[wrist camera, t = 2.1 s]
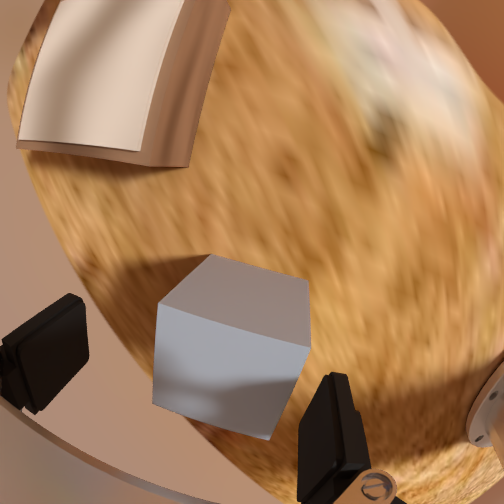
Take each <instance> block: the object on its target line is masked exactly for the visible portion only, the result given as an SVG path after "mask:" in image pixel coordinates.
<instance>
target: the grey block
mask: <svg viewBox="0 0 504 504" xmlns="http://www.w3.org/2000/svg"><path fill="white" fill-rule="evenodd" d="M310 349H311V330H310V303H309V282H308V280H304V279H300V278H297V277H293V276H289V275H286V274H282V273H278V272H275V271H271V270H267V269H264V268H260V267H256V266H253V265H249V264H245V263H242V262H238V261H234V260H231V259H227V258H224V257H220V256H216V255H213V254H211V255H209V256H208V257H207V258H206V259H205V260H204V261H203V262H202V263H201V264H200V265H199V266H197V267H196V268H195V269H194V270H193V271H192V272H191V273H190V274H189V275H188V276H187V277H185V278H184V279H183V280H182V281H181V282H180V283H179V284H178V285H177V286H176V287H175V288H174V289H173V290H171V291H170V292H169V293H168V294H167V295H166V296H165V297H164V298H163V299H162V300H161V301H160V302H159V303H158V311H157V323H156V336H155V351H154V370H153V404H155V405H157V406H160V407H162V408H165V409H167V410H170V411H172V412H175V413H178V414H180V415H183V416H186V417H189V418H192V419H195V420H198V421H200V422H204V423H207V424H210V425H213V426H216V427H219V428H223V429H226V430H230V431H233V432H237V433H241V434H244V435H248V436H252V437H256V438H261V439H265V440H269V439H270V437H271V435H272V433H273V431H274V429H275V427H276V425H277V423H278V421H279V419H280V417H281V415H282V413H283V411H284V408H285V406H286V404H287V402H288V400H289V398H290V395H291V393H292V391H293V389H294V387H295V384H296V382H297V380H298V377H299V375H300V373H301V371H302V368H303V366H304V363H305V361H306V359H307V356H308V354H309V351H310Z"/></svg>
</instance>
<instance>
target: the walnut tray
mask: <svg viewBox="0 0 504 504" xmlns="http://www.w3.org/2000/svg"><path fill="white" fill-rule="evenodd" d="M230 11H231V8H230V6H229V4H228V2H227V0H60V2H59V4H58V6H57V8H56V11H55V13H54V15H53V17H52V19H51V22H50V24H49V27H48V29H47V31H46V34H45V37H44V39H43V42H42V44H41V47H40V50H39V53H38V56H37V59H36V62H35V65H34V68H33V72H32V75H31V78H30V82H29V86H28V89H27V93H26V97H25V102H24V106H23V111H22V115H21V121H20V126H19V132H18V138H17V144H16V148H17V149H27V150H37V151H46V152H55V153H64V154H72V155H79V156H87V157H94V158H101V159H107V160H114V161H120V162H126V163H132V164H138V165H144V166H161V167H189V162H190V157H191V153H192V148H193V144H194V139H195V135H196V130H197V126H198V122H199V118H200V114H201V110H202V106H203V102H204V98H205V94H206V90H207V87H208V83H209V79H210V76H211V72H212V69H213V65H214V62H215V58H216V55H217V52H218V48H219V45H220V42H221V39H222V35H223V32H224V29H225V26H226V23H227V20H228V17H229V14H230Z"/></svg>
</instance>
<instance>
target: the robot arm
mask: <svg viewBox="0 0 504 504" xmlns="http://www.w3.org/2000/svg"><path fill="white" fill-rule="evenodd" d="M2 343H3V345H1V346H0V504H219V503H214V502H210V501H206V500H203V499H199V498H195V497H192V496H188V495H185V494H182V493H179V492H175V491H172V490H169V489H166V488H163V487H161V486H158V485H155V484H153V483H150V482H147V481H145V480H142V479H140V478H137V477H135V476H132V475H130V474H128V473H125V472H123V471H121V470H119V469H117V468H114V467H112V466H110V465H108V464H106V463H104V462H102V461H100V460H98V459H96V458H94V457H92V456H90V455H88V454H86V453H85V452H83V451H81V450H79V449H77V448H76V447H74V446H72V445H71V444H69V443H67V442H65V441H64V440H62V439H60V438H59V437H57V436H56V435H54V434H52V433H51V432H49V431H48V430H46V429H45V428H43V427H42V426H40V425H39V424H37V423H36V422H35V421H33V420H32V419H30V418H29V417H28V416H26V415H25V414H24V413H22V408H23V407H24V406H25V408H26V409H27V410H29V411H30V412H31V413H33V414H34V415H36V414H37V413H38V411H39V410H40V411H42V410H43V409H45V407H46V406H47V405H48V404H49V403H50V402H51V401H52V400H53V399H54V397H55V396H56V395H57V394H58V393H59V392H60V391H61V390H62V389H63V388H64V386H66V384H67V383H68V382H69V381H70V380H71V379H72V378H73V377H74V376H75V375H76V374H77V372H79V370H80V369H81V368H82V367H83V366H84V365H85V364H86V363H87V362H88V359H89V346H88V337H87V323H86V307H85V303H83V300H82V298H80V297H78V296H76V295H74V294H71V293H68V294H66V295H65V296H63V297H62V298H60V299H59V300H57V301H56V302H54V303H53V304H51V305H50V306H48V307H47V308H45V309H44V310H43V311H41V312H39V313H38V314H37V315H35V316H34V317H32V318H31V319H29V320H28V321H26V322H25V323H24V324H22V325H21V326H19V327H18V328H17V329H15V330H14V331H12V332H11V333H10V334H8V335H7V336H5V337H4V338H3V339H2ZM466 433H467V436H468V438H469V440H470V442H471V444H472V445H474V446H476V447H490V446H493V447H494V449H495V451H496V454H497V456H498V458H499V460H500V462H501V465H502V467H503V469H504V361H503V362H502V363H501V364H500V366H499V367H498V368H497V369H496V371H495V372H494V373H493V374H492V376H491V377H490V378H489V380H488V381H487V383H486V384H485V385H484V387H483V388H482V390H481V391H480V393H479V395H478V396H477V398H476V400H475V402H474V403H473V406H472V408H471V410H470V412H469V414H468V418H467V422H466ZM396 493H397V485H396V482H395V480H394V479H393V477H392V476H391V475H390V474H388V473H387V472H385V471H383V470H379V469H371V463H370V458H369V453H368V447H367V442H366V437H365V433H364V428H363V423H362V418H361V415H360V412H359V411H356V410H355V408H354V404H353V399H352V394H351V390H350V385H349V381H348V377H347V375H346V374H342V373H336V372H331V373H330V374H329V375H325V376H324V377H323V379H322V381H321V383H320V385H319V387H318V389H317V391H316V393H315V395H314V397H313V399H312V401H311V403H310V404H309V406H308V408H307V410H306V412H305V414H304V416H303V418H302V419H301V421H300V424H299V430H298V478H297V501H298V502H301V504H407V503H405V502H404V501H402V500H401V499H399V498H398V497H396V496H395V495H396Z"/></svg>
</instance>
